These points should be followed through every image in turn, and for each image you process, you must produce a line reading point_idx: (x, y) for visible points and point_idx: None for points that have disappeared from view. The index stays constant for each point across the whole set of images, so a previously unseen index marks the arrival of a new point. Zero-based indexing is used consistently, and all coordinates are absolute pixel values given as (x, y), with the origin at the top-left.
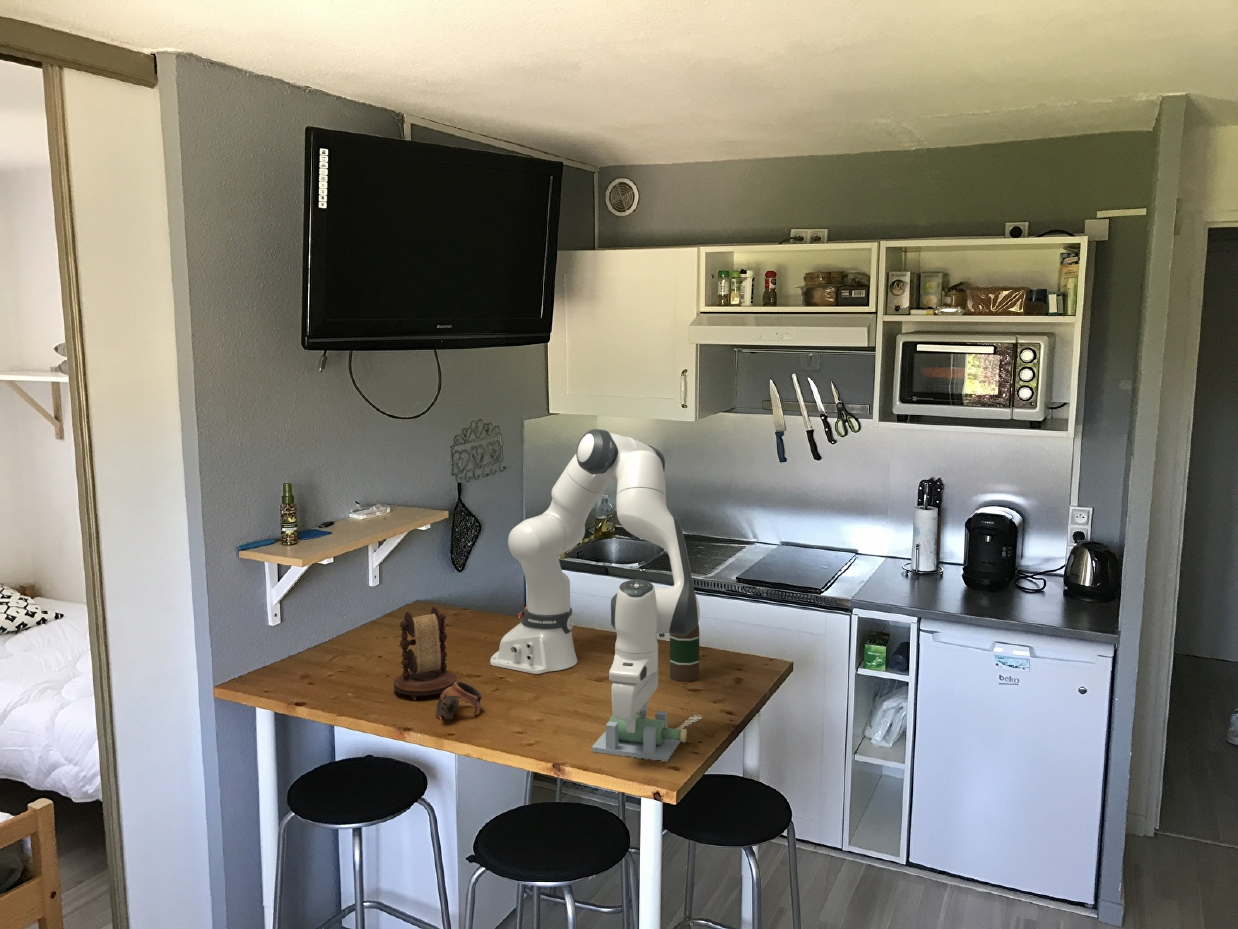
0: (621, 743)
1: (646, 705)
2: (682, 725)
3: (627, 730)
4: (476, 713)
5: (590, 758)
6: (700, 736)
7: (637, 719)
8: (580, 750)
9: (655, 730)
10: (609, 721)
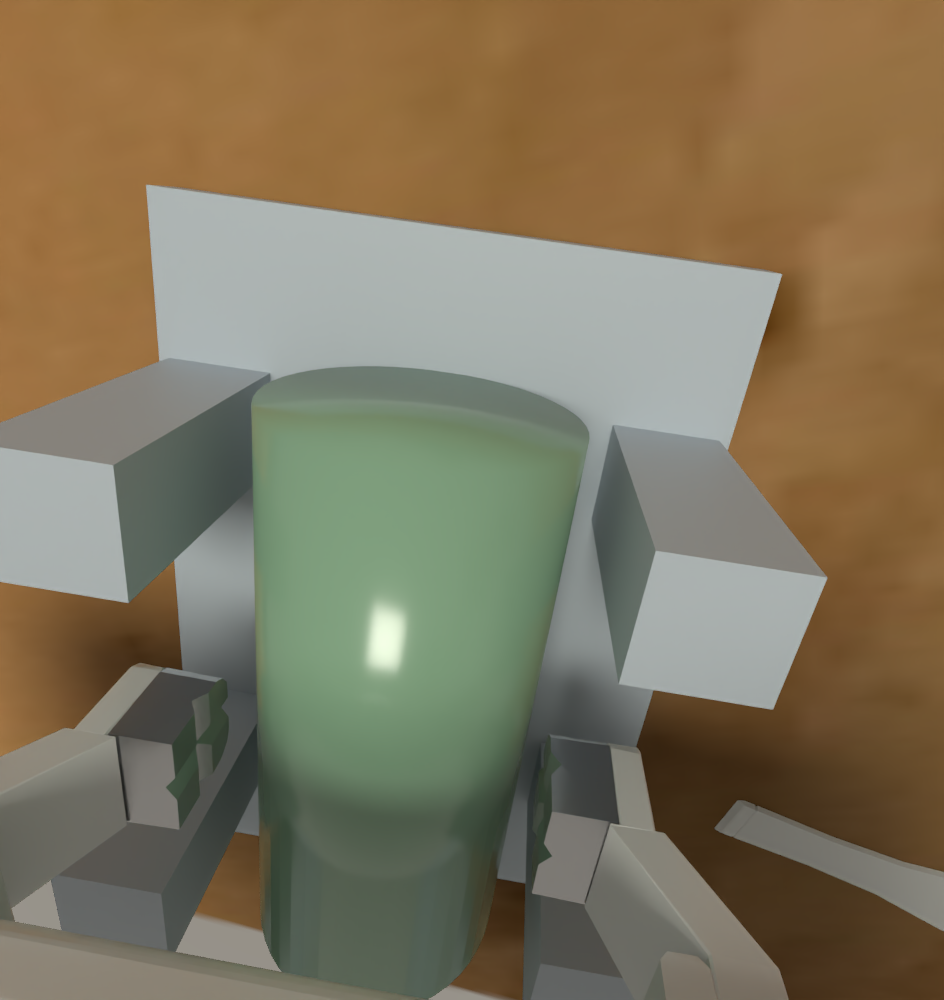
0: None
1: (624, 979)
2: (874, 869)
3: (127, 677)
4: None
5: (35, 212)
6: None
7: (333, 806)
8: (169, 30)
9: (178, 931)
10: (267, 433)
